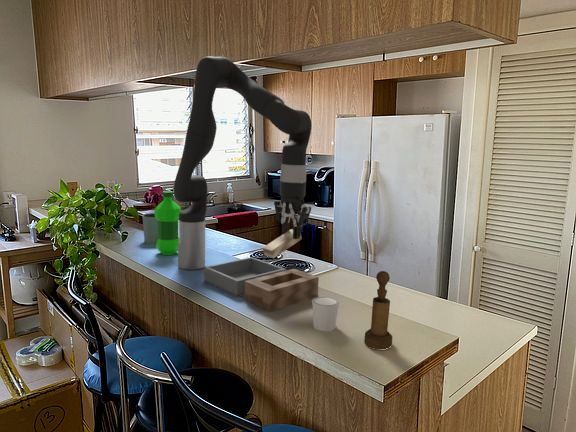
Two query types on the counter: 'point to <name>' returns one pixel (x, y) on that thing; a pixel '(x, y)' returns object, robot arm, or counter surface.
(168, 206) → the plastic bottle
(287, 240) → the maple bar
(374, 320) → the brown wooden tall figure
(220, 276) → the charcoal tray
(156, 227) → the drinking glass
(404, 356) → the counter surface
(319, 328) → the white cup
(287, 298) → the walnut pocket board
